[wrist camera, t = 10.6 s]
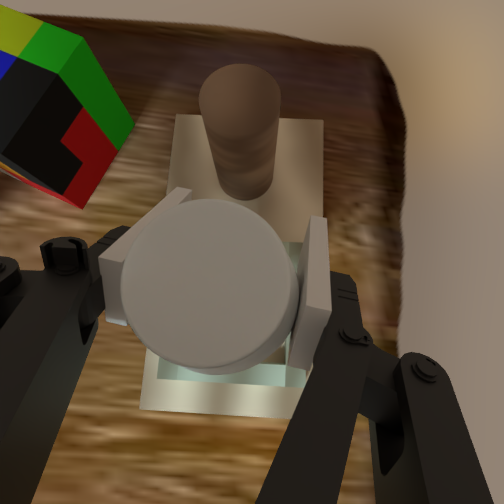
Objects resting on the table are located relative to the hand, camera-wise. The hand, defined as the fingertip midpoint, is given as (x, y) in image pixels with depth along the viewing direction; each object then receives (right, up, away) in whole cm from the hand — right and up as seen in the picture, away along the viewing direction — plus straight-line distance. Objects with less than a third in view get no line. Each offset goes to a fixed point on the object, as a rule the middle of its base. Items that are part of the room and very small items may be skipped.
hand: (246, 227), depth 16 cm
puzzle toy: (-18, +9, +16) cm, 26 cm away
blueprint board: (-1, -1, +13) cm, 13 cm away
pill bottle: (-1, -4, +3) cm, 5 cm away
